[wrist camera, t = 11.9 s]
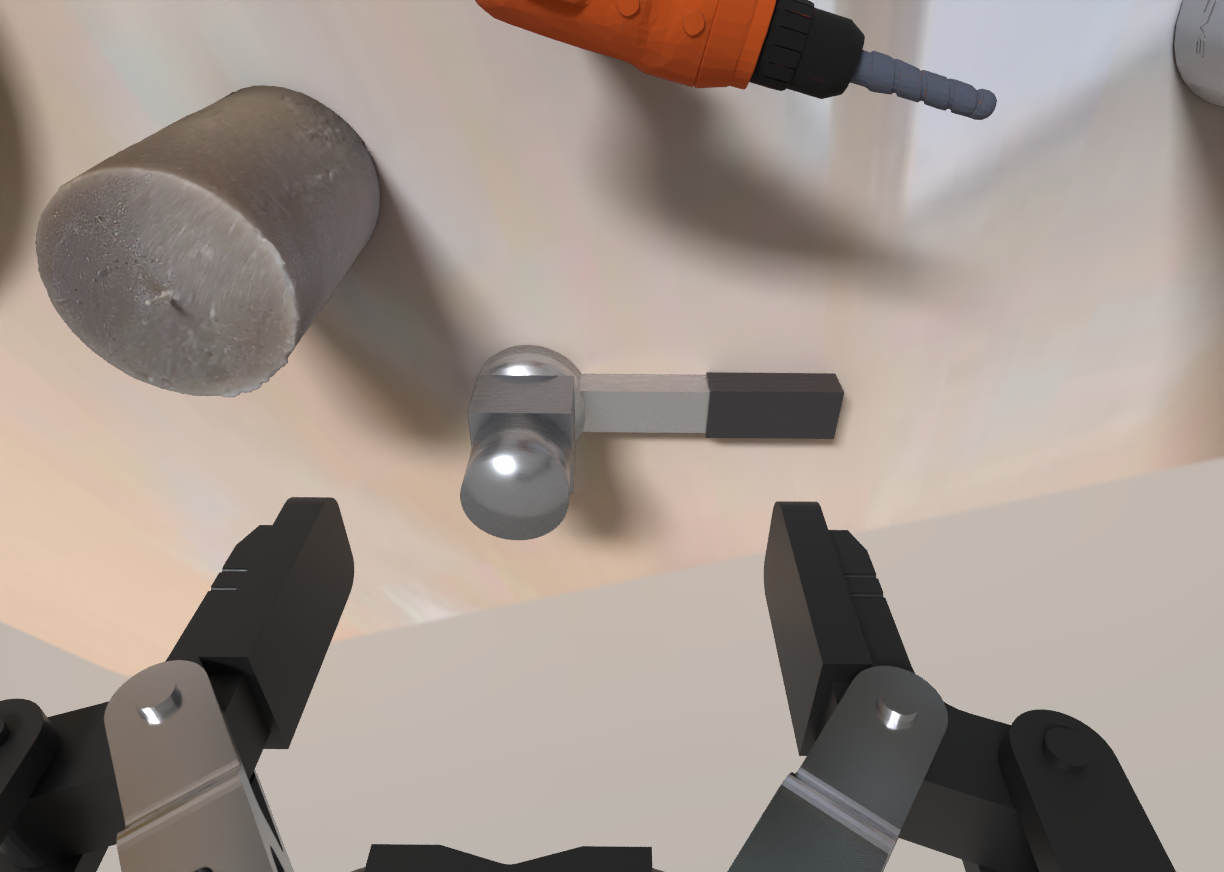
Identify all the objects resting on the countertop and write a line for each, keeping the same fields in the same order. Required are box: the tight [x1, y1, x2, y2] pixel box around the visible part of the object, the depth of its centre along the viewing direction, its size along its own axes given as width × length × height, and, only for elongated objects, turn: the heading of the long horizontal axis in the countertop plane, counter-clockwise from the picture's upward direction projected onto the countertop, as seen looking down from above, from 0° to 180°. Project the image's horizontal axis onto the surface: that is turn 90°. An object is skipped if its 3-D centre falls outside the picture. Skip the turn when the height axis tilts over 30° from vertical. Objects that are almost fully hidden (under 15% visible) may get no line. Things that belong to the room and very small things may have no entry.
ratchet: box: [479, 345, 844, 442], centre depth 45 cm, size 22×7×6 cm, turn 89°
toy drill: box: [475, 0, 997, 120], centre depth 28 cm, size 5×19×15 cm, turn 76°
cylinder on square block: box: [460, 375, 576, 540], centre depth 42 cm, size 6×6×8 cm
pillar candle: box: [35, 86, 380, 397], centre depth 34 cm, size 10×10×15 cm
